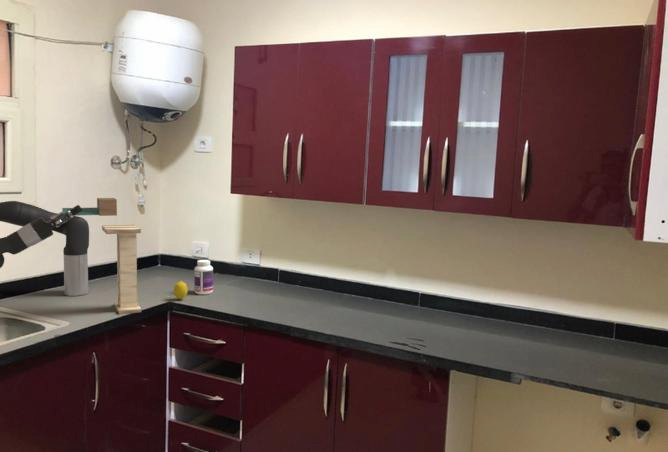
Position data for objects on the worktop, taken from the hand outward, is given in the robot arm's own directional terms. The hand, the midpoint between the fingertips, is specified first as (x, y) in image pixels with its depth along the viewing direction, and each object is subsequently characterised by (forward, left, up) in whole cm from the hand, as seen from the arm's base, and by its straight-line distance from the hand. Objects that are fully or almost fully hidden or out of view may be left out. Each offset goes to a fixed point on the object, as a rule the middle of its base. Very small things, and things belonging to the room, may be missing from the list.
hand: (80, 207), depth 203 cm
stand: (-1, +14, -40) cm, 42 cm away
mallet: (0, +3, -3) cm, 4 cm away
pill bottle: (-15, +50, -40) cm, 66 cm away
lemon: (-7, +38, -40) cm, 56 cm away
